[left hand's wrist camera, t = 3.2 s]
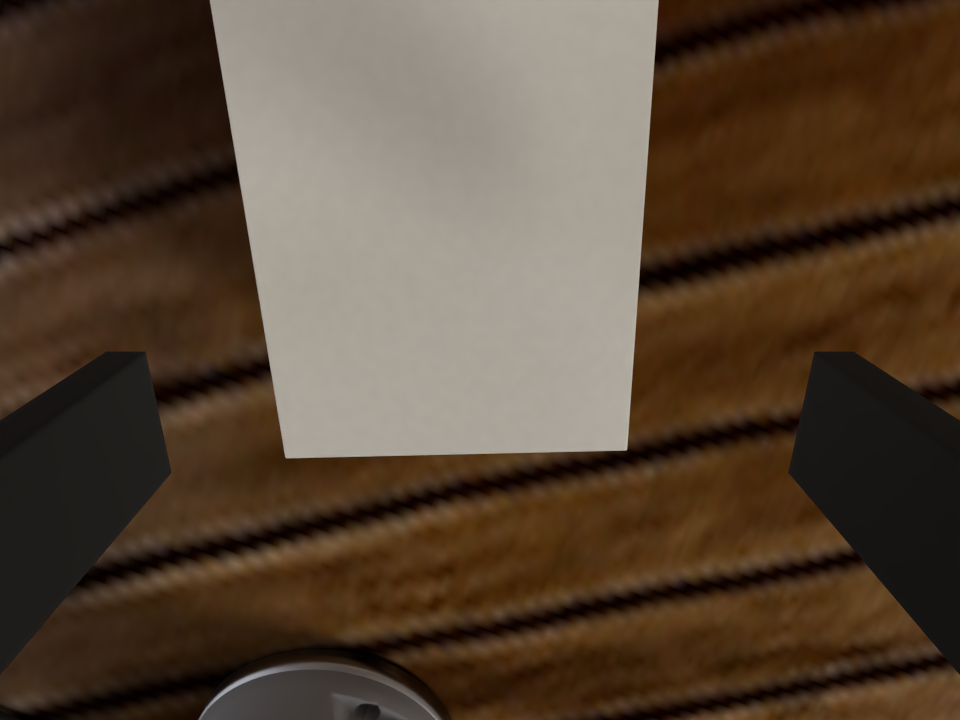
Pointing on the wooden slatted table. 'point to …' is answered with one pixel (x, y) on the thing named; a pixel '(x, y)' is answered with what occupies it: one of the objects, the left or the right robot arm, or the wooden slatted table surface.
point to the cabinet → (444, 216)
